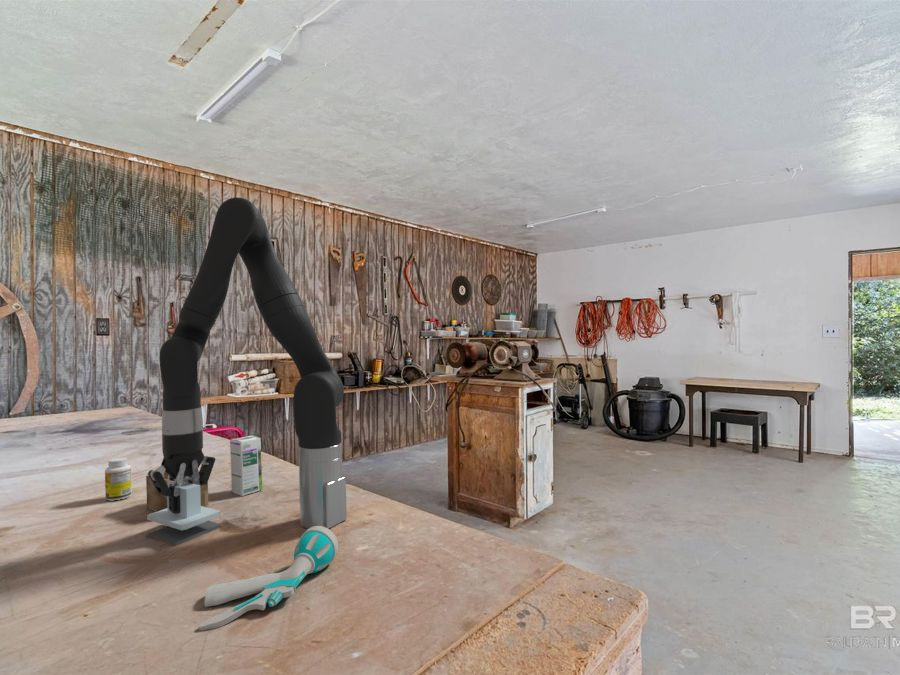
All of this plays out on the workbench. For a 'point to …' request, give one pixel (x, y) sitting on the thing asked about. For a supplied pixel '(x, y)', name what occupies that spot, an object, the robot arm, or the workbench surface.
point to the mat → (182, 533)
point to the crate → (160, 501)
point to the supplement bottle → (118, 479)
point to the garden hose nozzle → (273, 578)
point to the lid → (185, 510)
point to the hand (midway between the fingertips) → (184, 509)
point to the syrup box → (246, 465)
